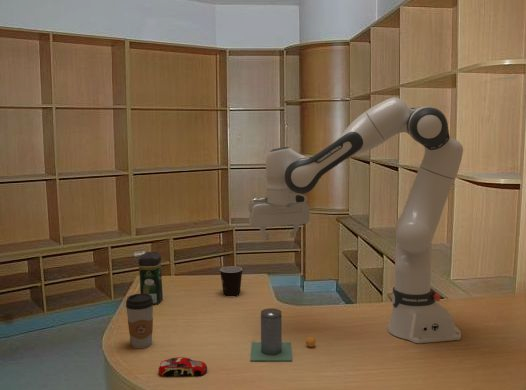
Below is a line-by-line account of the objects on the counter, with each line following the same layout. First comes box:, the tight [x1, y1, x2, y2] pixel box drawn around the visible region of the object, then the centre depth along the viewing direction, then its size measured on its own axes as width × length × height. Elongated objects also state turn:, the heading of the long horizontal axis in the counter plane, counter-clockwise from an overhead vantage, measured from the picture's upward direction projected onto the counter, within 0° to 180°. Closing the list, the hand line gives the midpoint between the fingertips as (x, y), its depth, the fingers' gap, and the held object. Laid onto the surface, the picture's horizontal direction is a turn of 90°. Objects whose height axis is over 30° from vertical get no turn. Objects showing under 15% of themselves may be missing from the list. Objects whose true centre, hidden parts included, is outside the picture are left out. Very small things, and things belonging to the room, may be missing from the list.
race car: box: [158, 356, 208, 378], centre depth 150 cm, size 13×5×4 cm, turn 90°
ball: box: [305, 336, 317, 348], centre depth 166 cm, size 3×3×3 cm
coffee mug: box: [219, 265, 243, 297], centre depth 214 cm, size 12×9×10 cm
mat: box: [249, 341, 293, 363], centre depth 162 cm, size 12×12×1 cm
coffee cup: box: [125, 293, 155, 349], centre depth 167 cm, size 8×8×15 cm
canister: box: [260, 307, 283, 355], centre depth 161 cm, size 6×6×12 cm
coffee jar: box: [138, 251, 164, 305], centre depth 205 cm, size 10×8×19 cm
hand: (279, 238), depth 180 cm, fingers open, 8 cm apart
